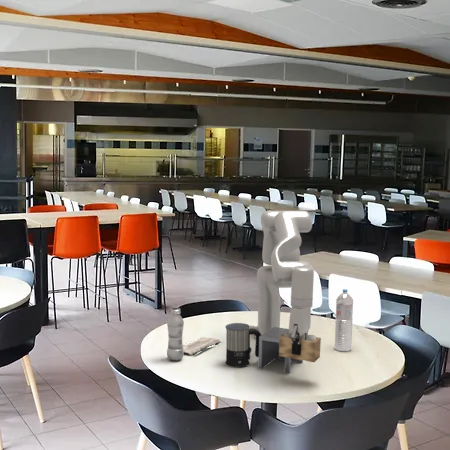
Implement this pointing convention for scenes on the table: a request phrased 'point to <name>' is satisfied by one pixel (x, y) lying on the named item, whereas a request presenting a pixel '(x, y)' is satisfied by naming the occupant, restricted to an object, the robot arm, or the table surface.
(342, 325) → the water bottle
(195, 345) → the newspaper
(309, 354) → the glass carrier
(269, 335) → the gray open-front box
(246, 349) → the milk frother
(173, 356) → the plastic bottle
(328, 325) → the table surface
